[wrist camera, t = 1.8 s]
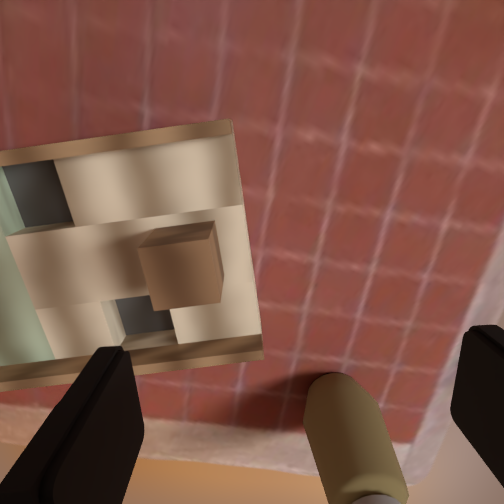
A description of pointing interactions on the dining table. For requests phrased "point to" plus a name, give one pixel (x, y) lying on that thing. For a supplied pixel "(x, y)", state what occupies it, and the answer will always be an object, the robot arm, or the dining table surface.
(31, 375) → the box
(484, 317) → the dining table surface
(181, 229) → the walnut block
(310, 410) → the squeeze bottle
